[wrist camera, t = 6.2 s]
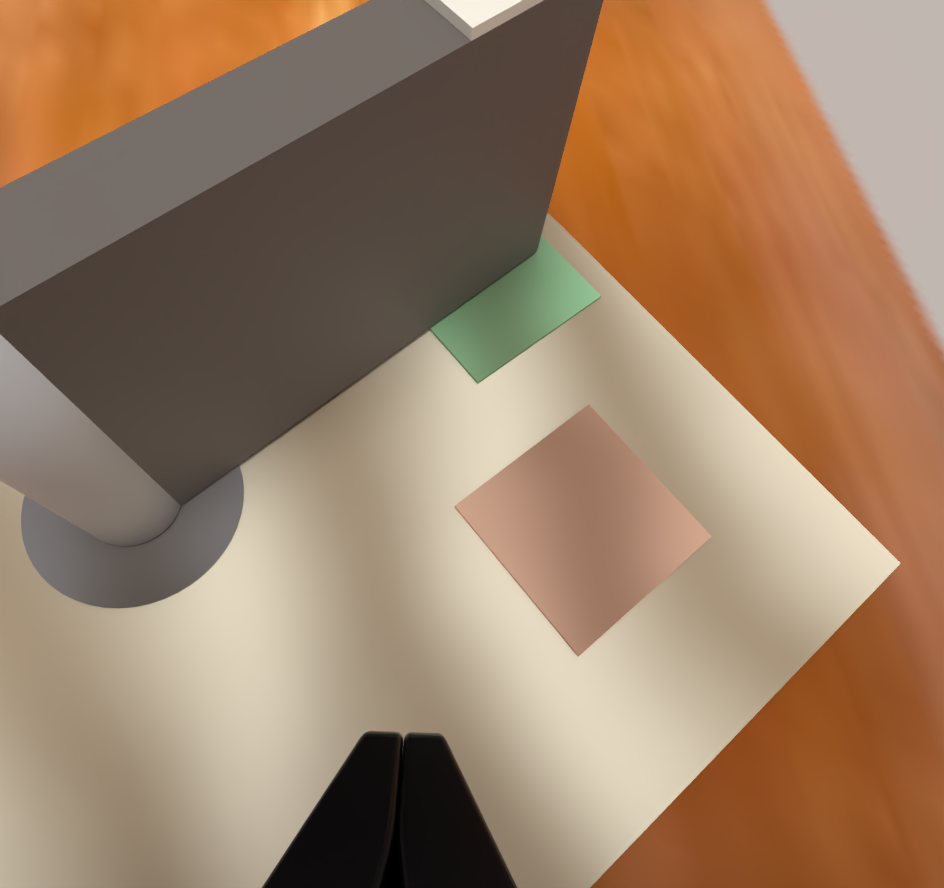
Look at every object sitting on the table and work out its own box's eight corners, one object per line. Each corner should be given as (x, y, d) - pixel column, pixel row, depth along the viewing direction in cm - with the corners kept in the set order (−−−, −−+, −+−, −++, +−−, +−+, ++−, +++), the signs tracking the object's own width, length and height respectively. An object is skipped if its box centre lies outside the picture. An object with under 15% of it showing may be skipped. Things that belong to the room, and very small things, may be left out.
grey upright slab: (115, 567, 14) (-266, 363, 6) (61, 493, 14) (-354, 217, 7) (543, 257, 17) (648, -117, 10) (490, 207, 18) (551, -188, 10)
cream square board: (183, 1293, 11) (168, 1330, 10) (-258, 433, 15) (-289, 420, 14) (883, 568, 16) (903, 562, 15) (406, 89, 20) (406, 68, 20)
